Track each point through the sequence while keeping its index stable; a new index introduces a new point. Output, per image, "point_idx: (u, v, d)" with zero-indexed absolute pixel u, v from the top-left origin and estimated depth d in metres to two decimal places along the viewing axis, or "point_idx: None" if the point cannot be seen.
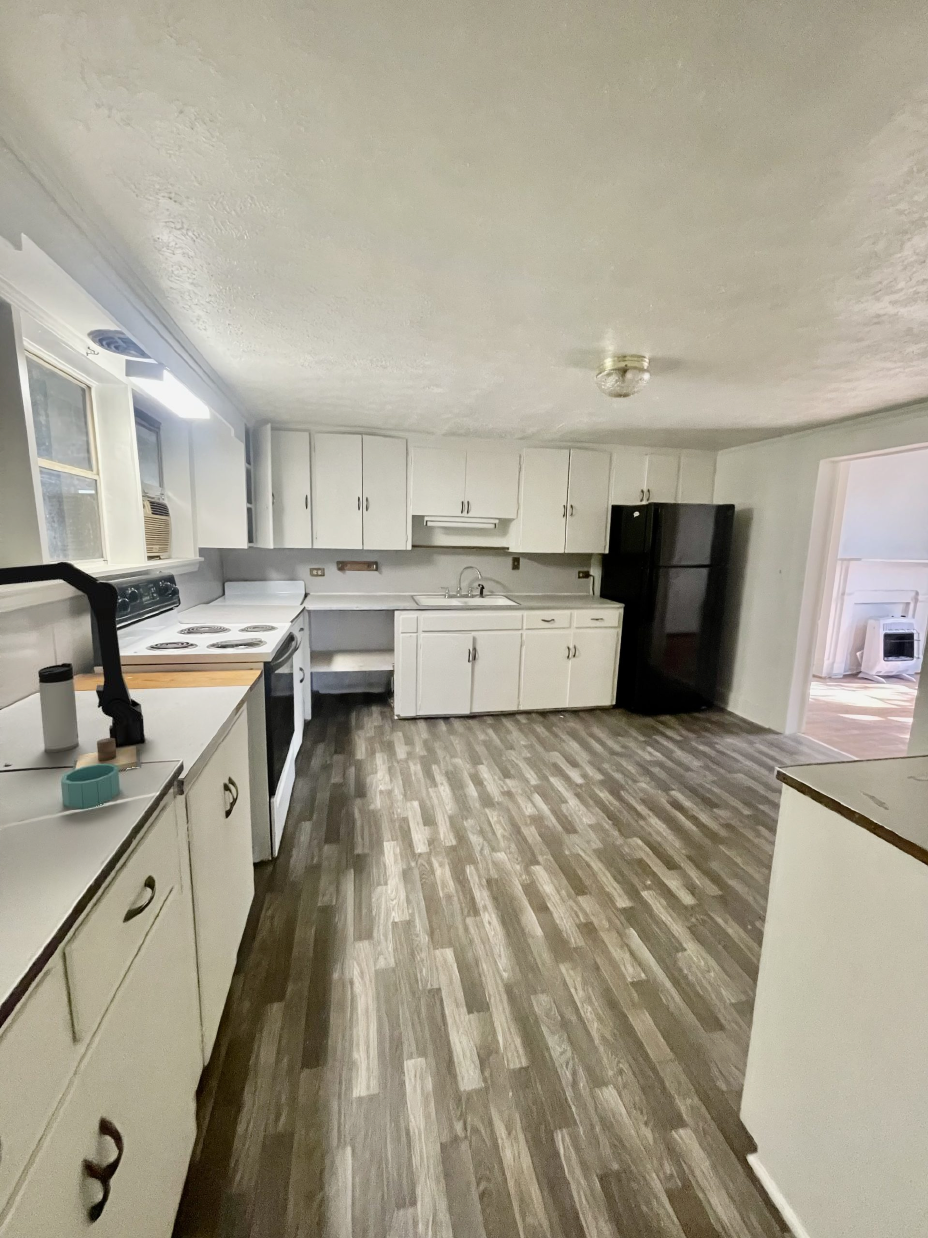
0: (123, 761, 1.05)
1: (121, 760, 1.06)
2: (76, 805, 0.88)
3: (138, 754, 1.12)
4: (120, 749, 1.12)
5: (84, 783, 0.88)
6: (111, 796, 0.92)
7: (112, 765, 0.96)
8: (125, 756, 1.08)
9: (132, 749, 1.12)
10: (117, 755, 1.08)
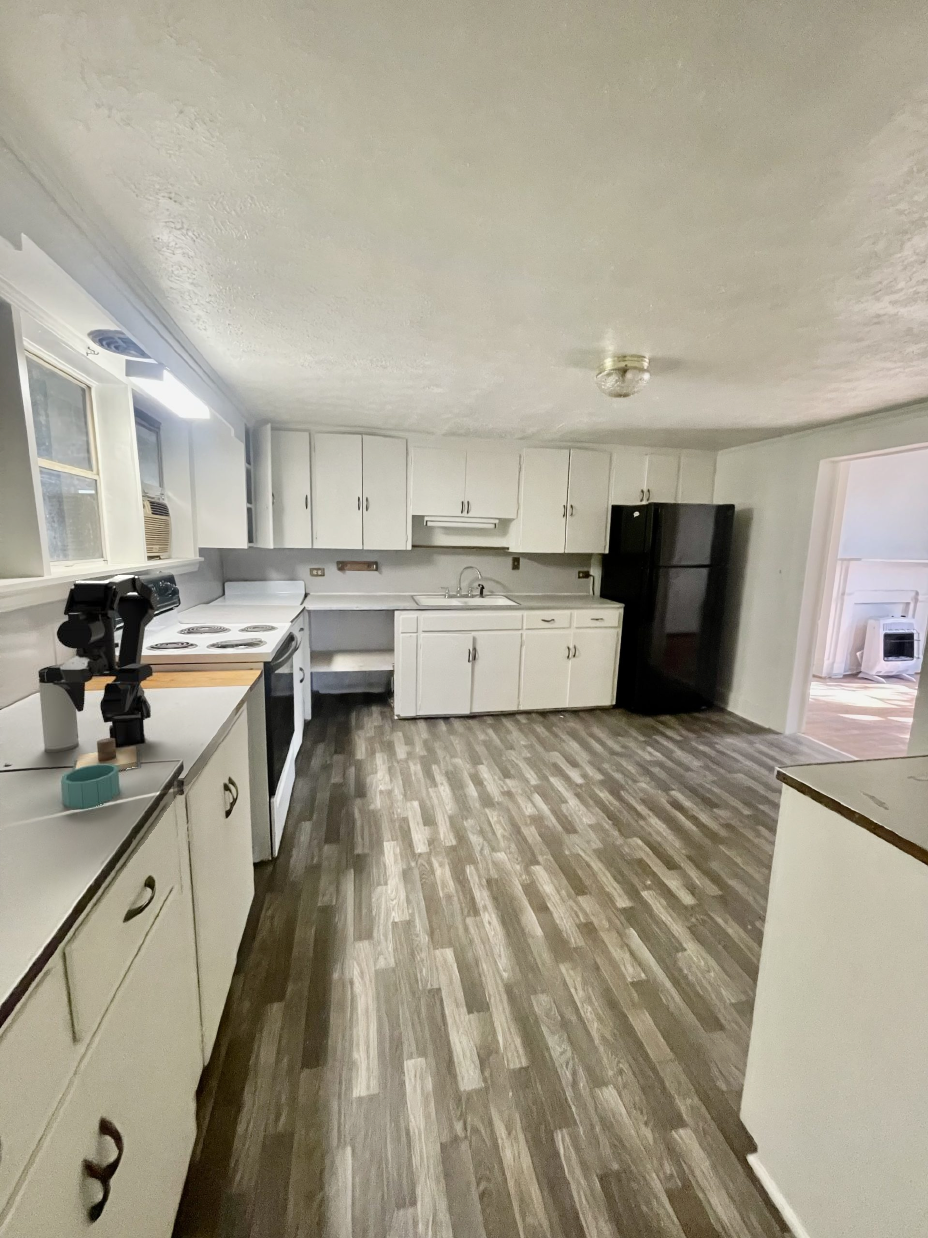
0: (123, 761, 1.05)
1: (121, 760, 1.06)
2: (76, 805, 0.88)
3: (138, 754, 1.12)
4: (120, 749, 1.12)
5: (84, 783, 0.88)
6: (111, 796, 0.92)
7: (112, 765, 0.96)
8: (125, 756, 1.08)
9: (132, 749, 1.12)
10: (117, 755, 1.08)
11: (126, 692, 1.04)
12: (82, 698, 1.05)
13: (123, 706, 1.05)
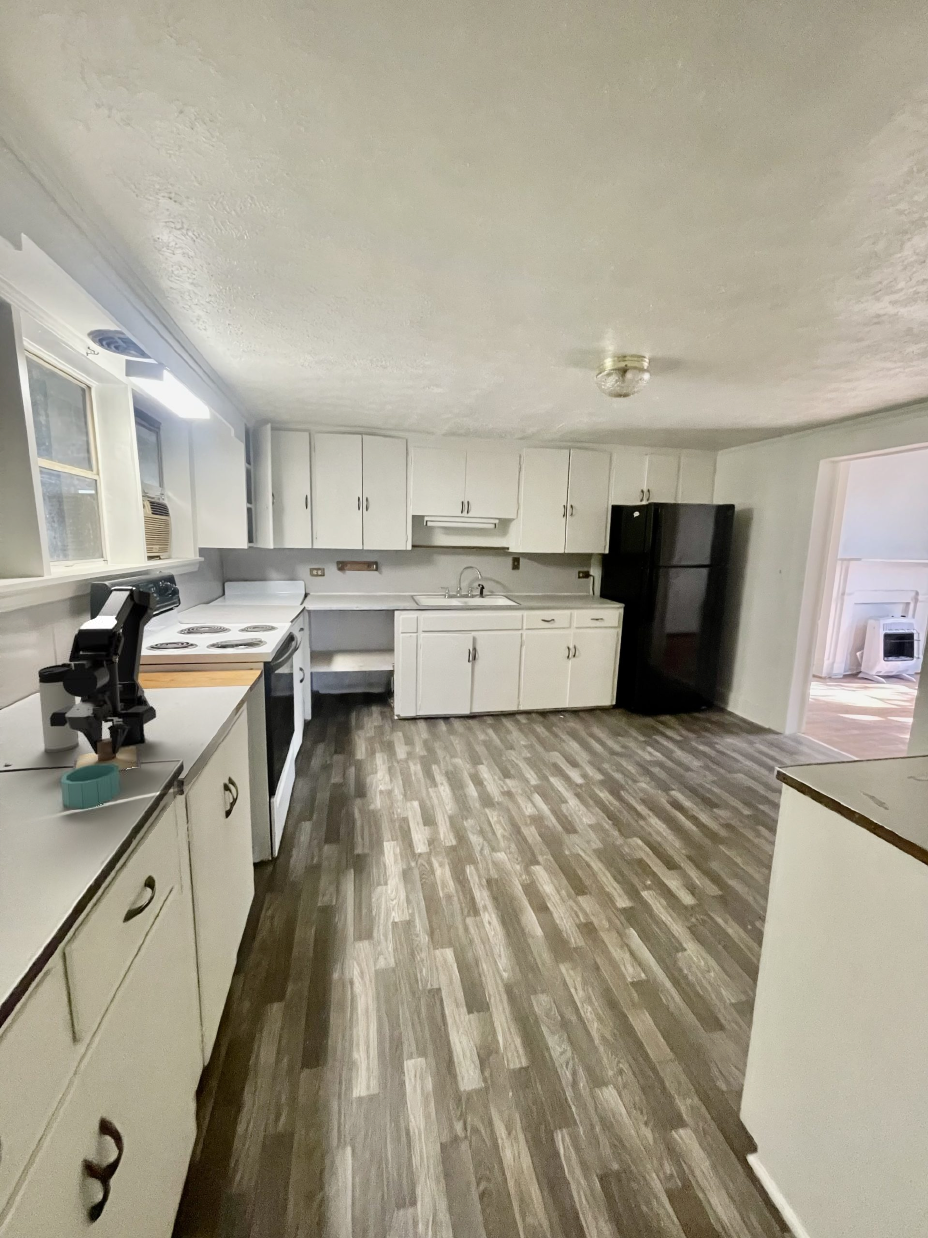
0: (123, 761, 1.05)
1: (121, 760, 1.06)
2: (76, 805, 0.88)
3: (138, 754, 1.12)
4: (120, 749, 1.12)
5: (84, 783, 0.88)
6: (111, 796, 0.92)
7: (112, 765, 0.96)
8: (125, 756, 1.08)
9: (132, 749, 1.12)
10: (117, 755, 1.08)
11: (116, 735, 1.05)
12: None
13: (113, 748, 1.06)
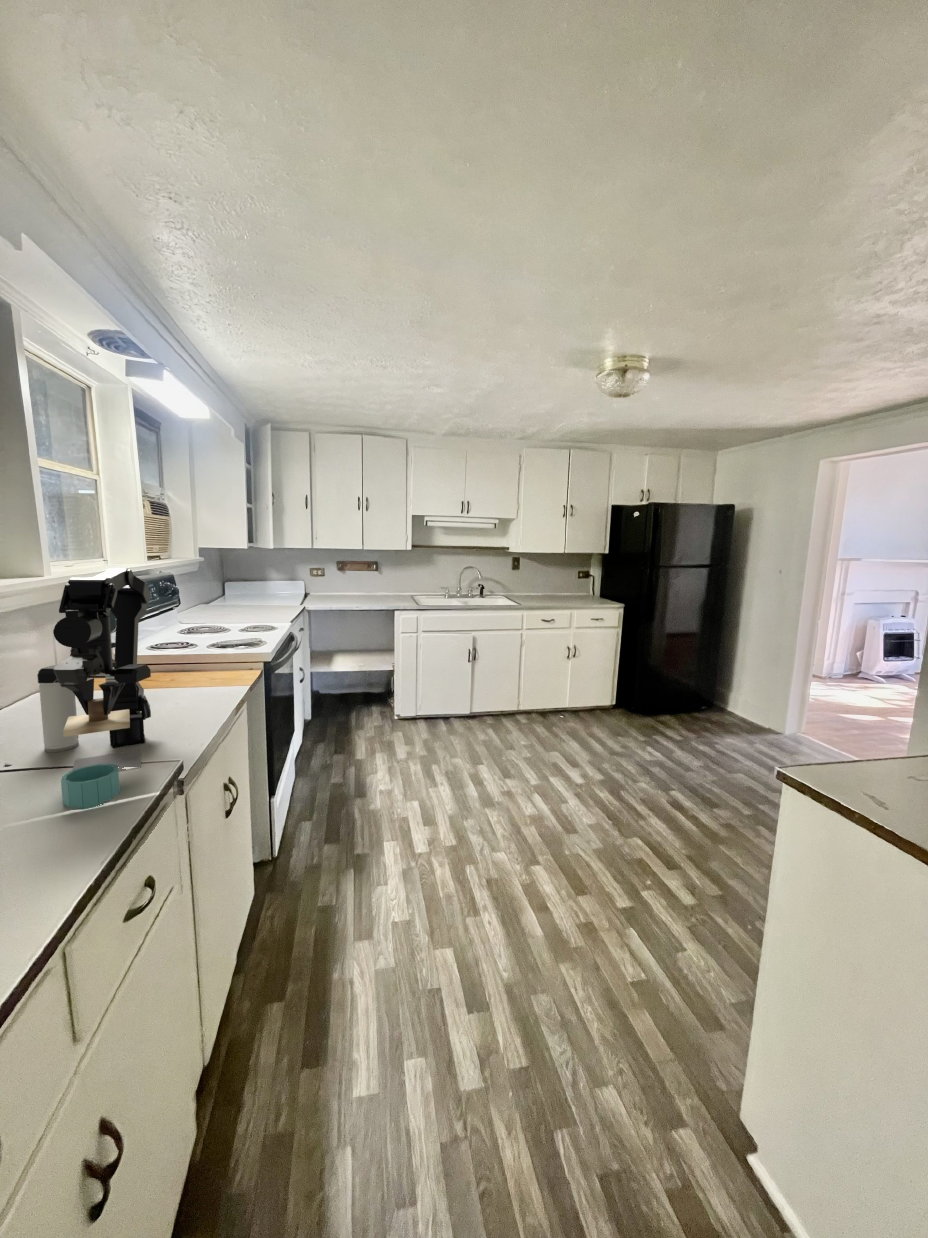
0: (115, 722, 0.99)
1: (114, 721, 1.00)
2: (76, 805, 0.88)
3: (138, 754, 1.12)
4: (113, 712, 1.05)
5: (84, 783, 0.88)
6: (111, 796, 0.92)
7: (112, 765, 0.96)
8: (117, 717, 1.02)
9: (126, 712, 1.06)
10: (109, 716, 1.02)
11: (108, 694, 0.99)
12: None
13: (105, 708, 1.00)
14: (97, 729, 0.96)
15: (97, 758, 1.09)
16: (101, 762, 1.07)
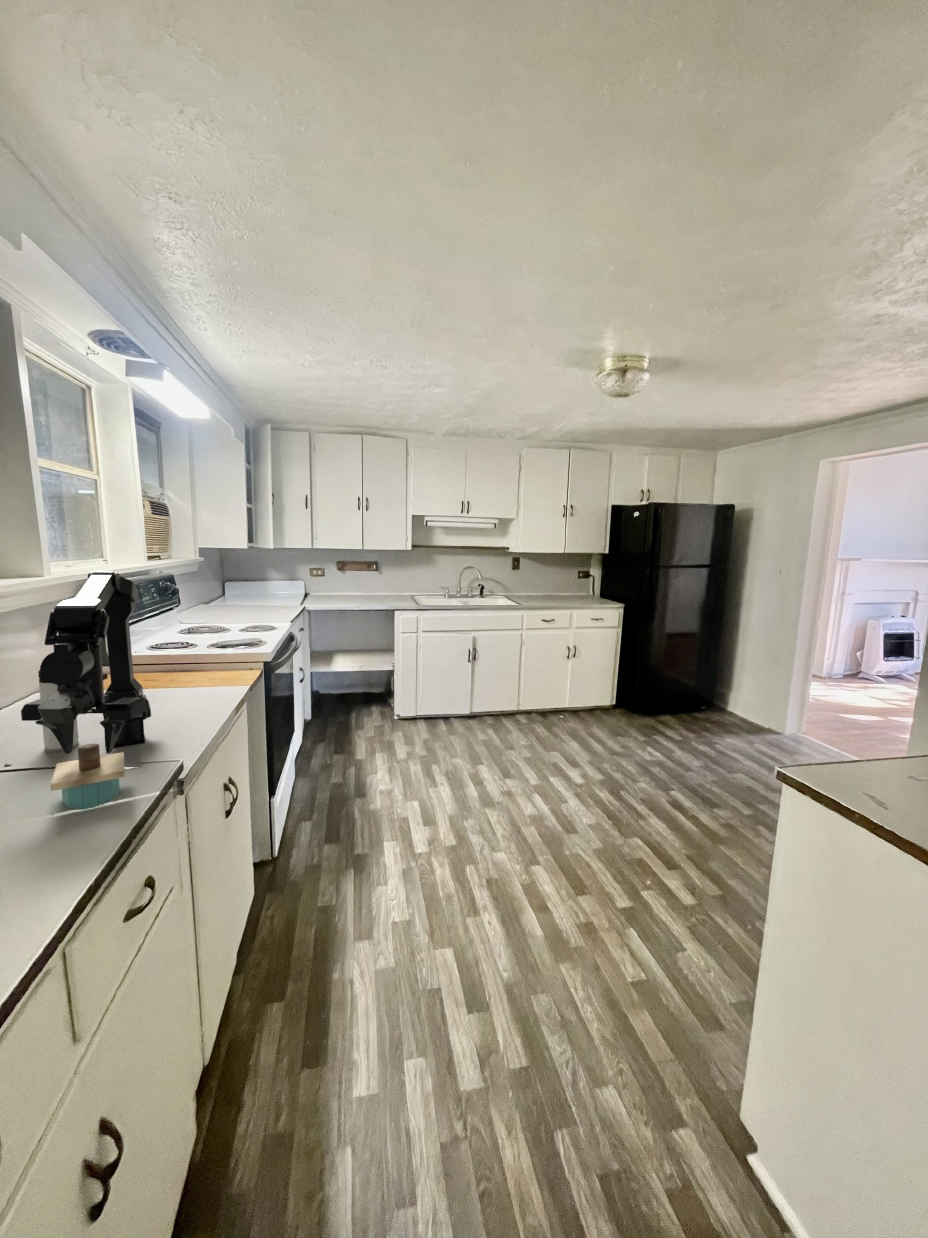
0: (108, 771, 0.90)
1: (106, 769, 0.91)
2: (76, 805, 0.88)
3: (138, 754, 1.12)
4: (106, 756, 0.97)
5: None
6: (111, 796, 0.92)
7: None
8: (110, 765, 0.93)
9: (120, 756, 0.97)
10: (102, 763, 0.94)
11: (110, 731, 0.90)
12: (70, 738, 0.92)
13: (107, 747, 0.91)
14: (88, 781, 0.88)
15: None
16: None
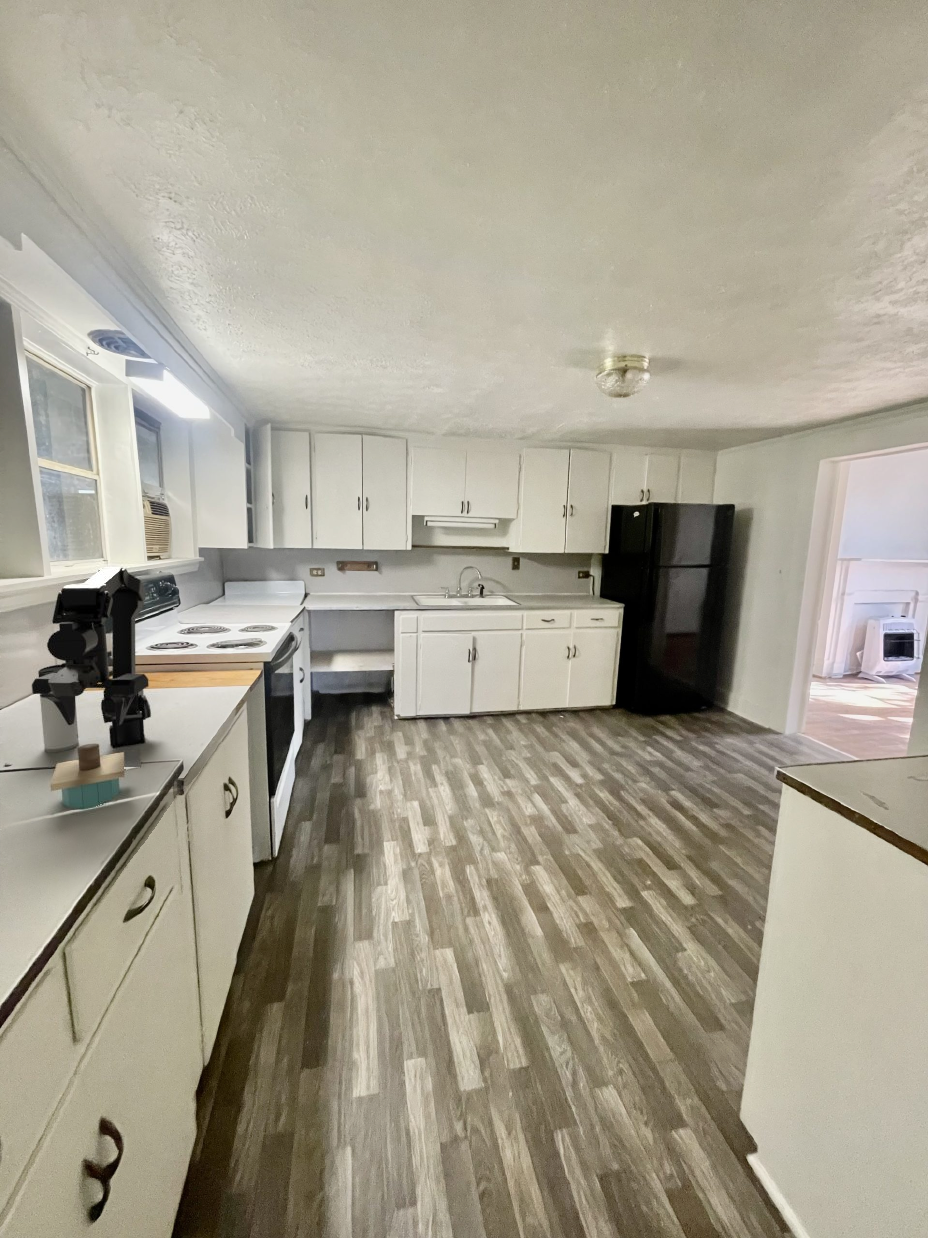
0: (108, 771, 0.90)
1: (106, 769, 0.91)
2: (76, 805, 0.88)
3: (138, 754, 1.12)
4: (106, 756, 0.97)
5: None
6: (111, 796, 0.92)
7: None
8: (110, 765, 0.93)
9: (120, 756, 0.97)
10: (102, 763, 0.94)
11: (120, 705, 0.97)
12: (72, 710, 0.98)
13: (117, 719, 0.98)
14: (88, 781, 0.88)
15: None
16: None
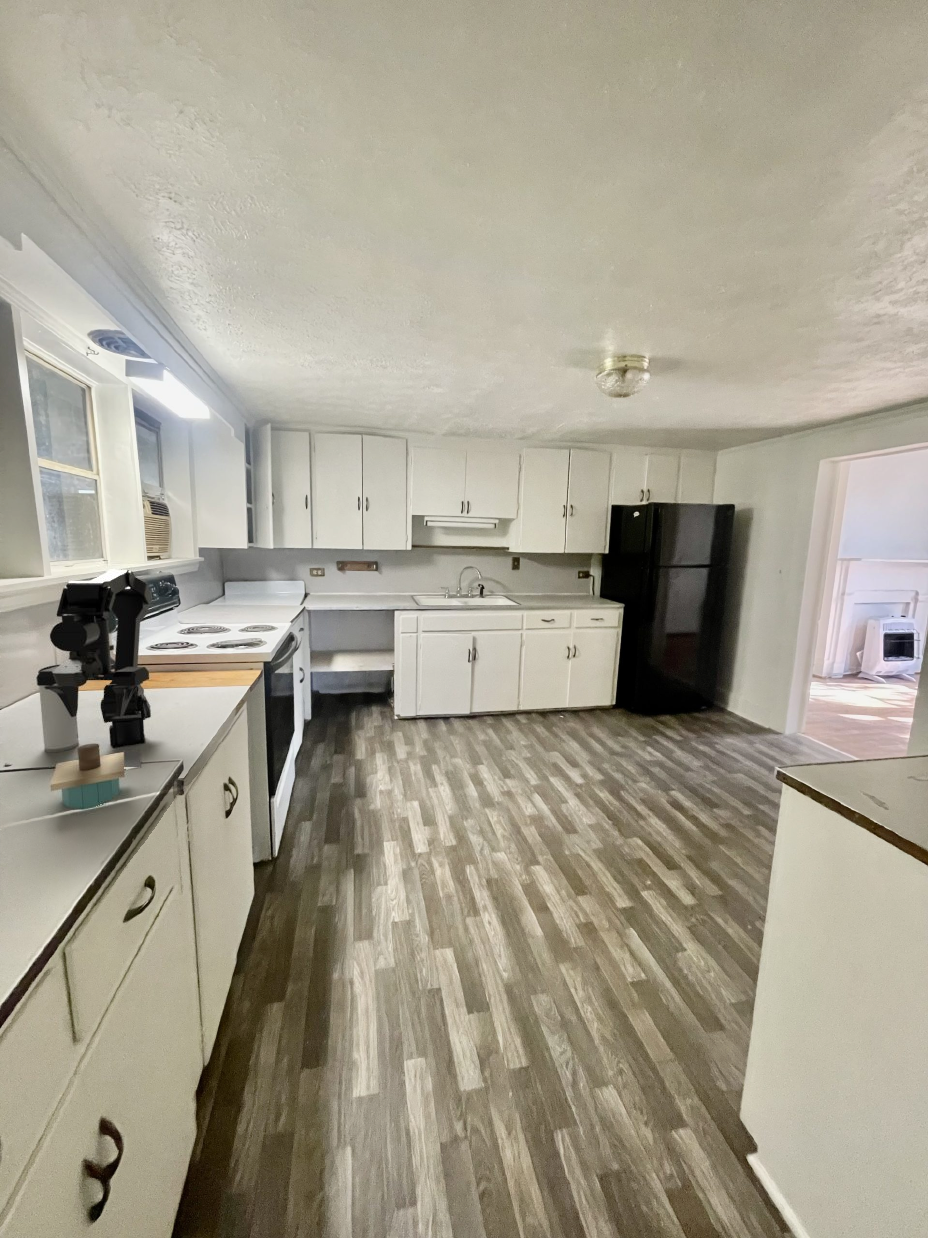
0: (108, 771, 0.90)
1: (106, 769, 0.91)
2: (76, 805, 0.88)
3: (138, 754, 1.12)
4: (106, 756, 0.97)
5: None
6: (111, 796, 0.92)
7: None
8: (110, 765, 0.93)
9: (120, 756, 0.97)
10: (102, 763, 0.94)
11: (121, 696, 1.00)
12: (75, 703, 1.01)
13: (118, 710, 1.01)
14: (88, 781, 0.88)
15: None
16: None
